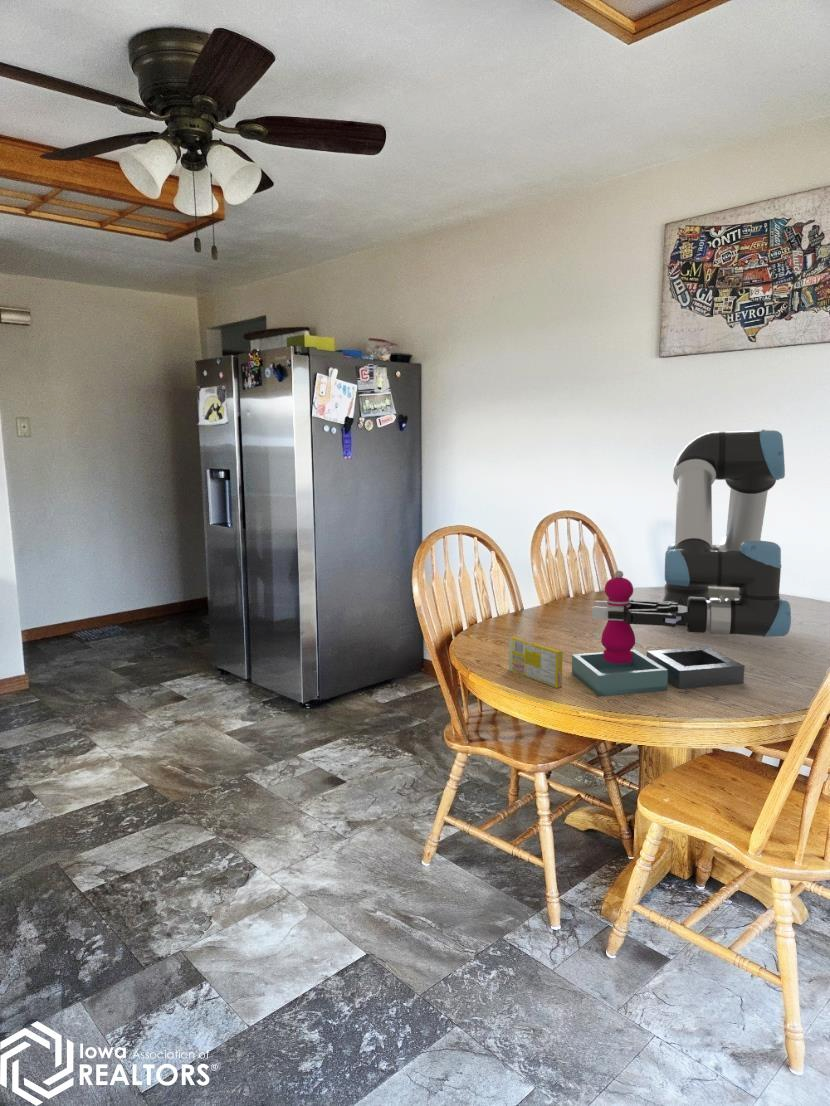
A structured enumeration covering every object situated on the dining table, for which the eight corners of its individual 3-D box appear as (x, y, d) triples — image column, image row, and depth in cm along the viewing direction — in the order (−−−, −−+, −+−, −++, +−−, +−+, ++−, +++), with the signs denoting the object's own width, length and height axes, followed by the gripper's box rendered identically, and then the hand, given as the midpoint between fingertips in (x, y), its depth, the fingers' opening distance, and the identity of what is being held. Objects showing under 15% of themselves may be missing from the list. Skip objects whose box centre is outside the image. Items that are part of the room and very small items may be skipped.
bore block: (705, 662, 169) (706, 646, 169) (743, 683, 155) (744, 665, 154) (646, 667, 167) (646, 650, 167) (679, 688, 153) (679, 670, 152)
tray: (634, 668, 167) (635, 649, 166) (667, 690, 152) (667, 669, 151) (571, 673, 165) (571, 654, 164) (598, 696, 150) (598, 675, 149)
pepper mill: (639, 664, 154) (640, 573, 151) (605, 665, 154) (606, 574, 151) (629, 654, 161) (631, 567, 158) (597, 655, 161) (598, 568, 158)
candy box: (563, 687, 156) (563, 650, 155) (556, 689, 155) (556, 652, 154) (514, 668, 170) (514, 634, 169) (507, 670, 169) (507, 636, 168)
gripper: (705, 589, 158) (597, 585, 165) (710, 607, 141) (589, 602, 149) (704, 622, 159) (597, 616, 167) (708, 644, 142) (589, 636, 150)
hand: (593, 609), depth 158 cm, fingers closed on pepper mill, 5 cm apart
